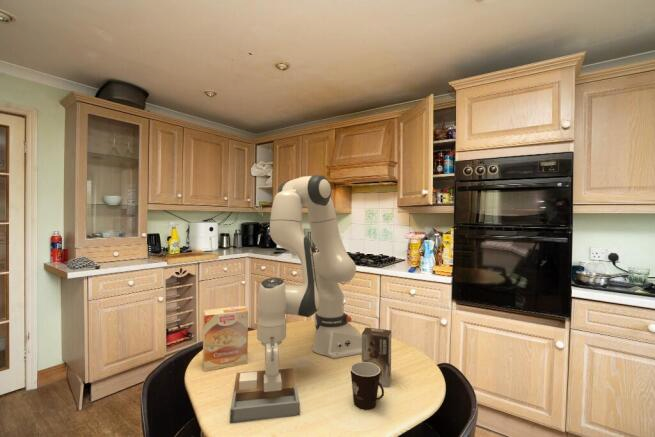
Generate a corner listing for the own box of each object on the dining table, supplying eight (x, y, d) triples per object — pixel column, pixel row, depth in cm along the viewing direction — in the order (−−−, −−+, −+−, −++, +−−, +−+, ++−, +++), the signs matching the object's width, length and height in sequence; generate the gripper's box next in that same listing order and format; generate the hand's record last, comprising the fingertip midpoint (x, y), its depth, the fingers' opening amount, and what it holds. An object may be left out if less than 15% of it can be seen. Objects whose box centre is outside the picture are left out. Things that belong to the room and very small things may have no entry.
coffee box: (391, 378, 105) (392, 330, 105) (388, 387, 99) (389, 337, 99) (364, 373, 108) (365, 326, 108) (360, 382, 102) (361, 333, 102)
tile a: (280, 381, 97) (280, 373, 97) (281, 390, 92) (281, 381, 92) (263, 382, 95) (263, 374, 95) (263, 392, 91) (264, 383, 91)
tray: (296, 397, 93) (296, 385, 93) (299, 415, 85) (299, 402, 85) (233, 403, 90) (233, 391, 90) (230, 423, 81) (230, 409, 81)
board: (292, 376, 105) (292, 367, 105) (296, 397, 93) (296, 387, 93) (236, 382, 101) (236, 372, 101) (233, 403, 90) (233, 393, 90)
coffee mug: (347, 395, 95) (348, 362, 95) (375, 394, 96) (376, 361, 95) (354, 420, 83) (354, 382, 83) (386, 418, 84) (386, 381, 84)
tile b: (256, 379, 97) (257, 371, 97) (256, 388, 92) (256, 379, 92) (240, 381, 96) (240, 373, 96) (239, 390, 91) (239, 381, 91)
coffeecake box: (203, 371, 108) (204, 315, 108) (202, 363, 114) (203, 309, 114) (248, 363, 114) (248, 310, 114) (244, 355, 121) (244, 304, 120)
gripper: (284, 344, 88) (283, 394, 88) (280, 320, 108) (279, 360, 108) (261, 346, 87) (260, 396, 87) (261, 321, 107) (260, 362, 107)
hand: (271, 376), depth 97 cm, fingers closed
